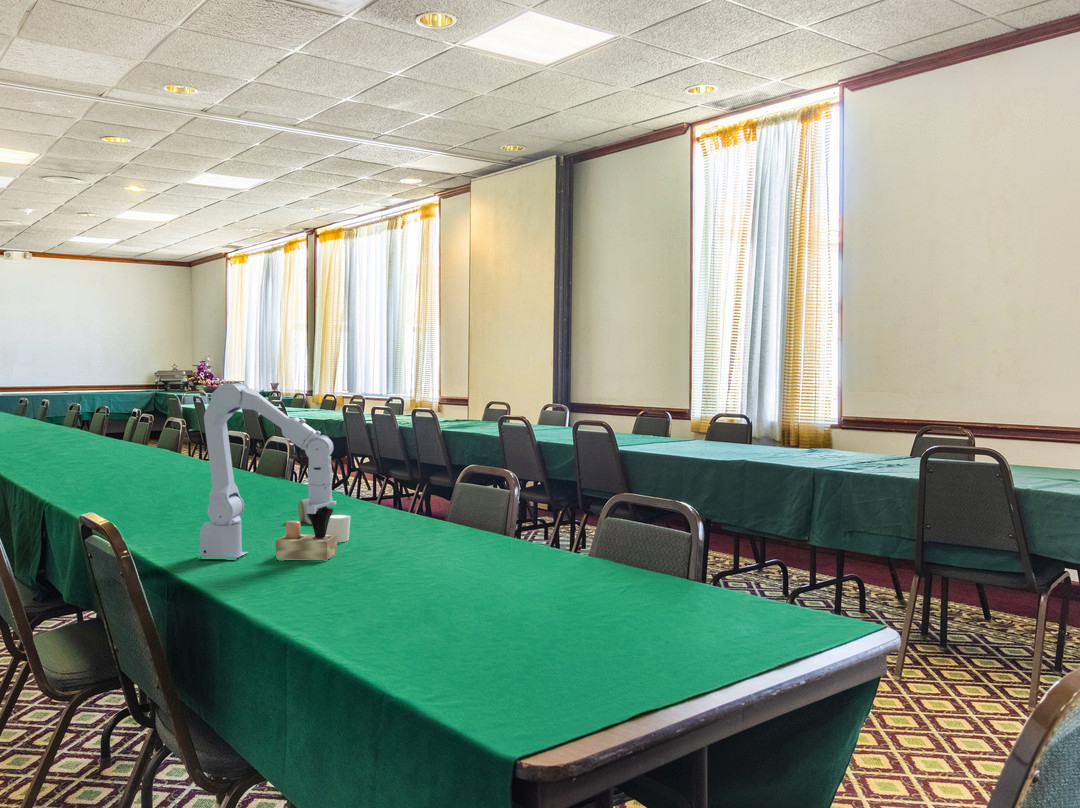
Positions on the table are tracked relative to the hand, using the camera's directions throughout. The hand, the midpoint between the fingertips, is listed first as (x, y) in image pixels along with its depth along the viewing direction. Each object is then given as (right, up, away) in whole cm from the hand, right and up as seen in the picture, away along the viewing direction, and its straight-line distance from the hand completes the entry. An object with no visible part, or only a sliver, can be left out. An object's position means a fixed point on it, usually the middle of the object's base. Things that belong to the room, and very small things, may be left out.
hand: (320, 537), depth 215 cm
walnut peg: (0, -5, 0) cm, 5 cm away
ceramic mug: (-14, -3, +48) cm, 50 cm away
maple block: (-4, -5, 0) cm, 6 cm away
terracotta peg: (-7, -1, 0) cm, 7 cm away
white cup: (0, -4, +20) cm, 21 cm away
